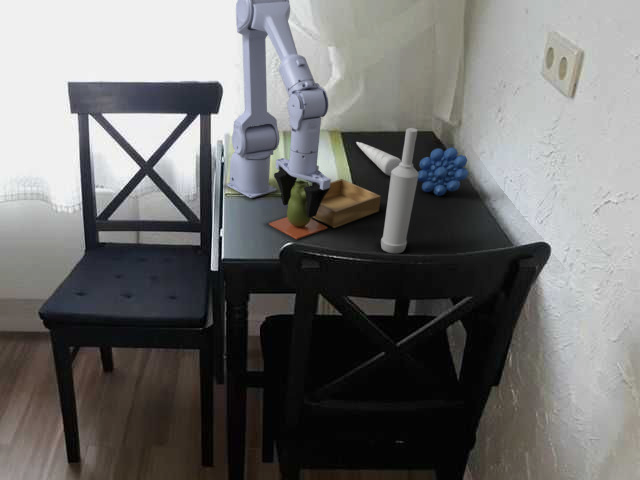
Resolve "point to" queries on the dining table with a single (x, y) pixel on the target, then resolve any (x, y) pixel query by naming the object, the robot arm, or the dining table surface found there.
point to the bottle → (400, 198)
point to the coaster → (297, 228)
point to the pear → (298, 205)
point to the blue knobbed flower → (442, 171)
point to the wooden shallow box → (346, 204)
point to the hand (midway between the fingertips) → (299, 209)
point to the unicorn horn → (380, 158)
